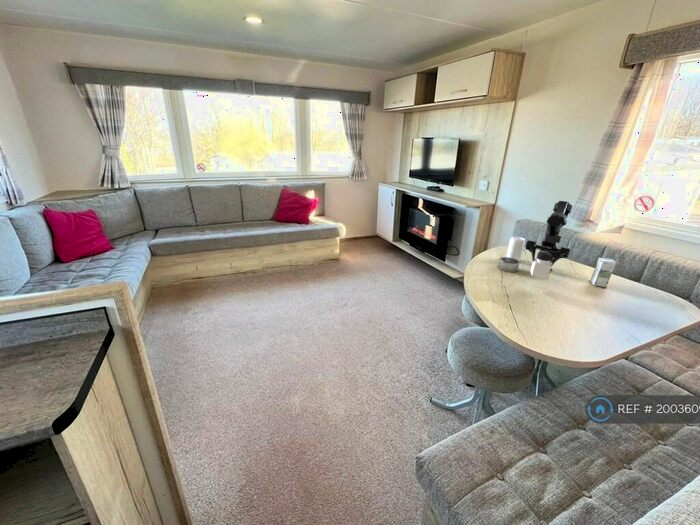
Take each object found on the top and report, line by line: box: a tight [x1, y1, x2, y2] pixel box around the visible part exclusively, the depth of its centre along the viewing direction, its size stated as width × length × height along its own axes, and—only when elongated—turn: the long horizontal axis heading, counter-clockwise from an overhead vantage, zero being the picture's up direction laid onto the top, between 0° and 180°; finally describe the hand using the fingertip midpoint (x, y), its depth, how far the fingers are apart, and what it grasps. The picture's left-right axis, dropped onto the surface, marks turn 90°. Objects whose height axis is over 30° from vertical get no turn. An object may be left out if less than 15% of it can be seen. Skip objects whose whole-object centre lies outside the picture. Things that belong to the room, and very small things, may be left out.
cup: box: [506, 236, 526, 261], centre depth 193 cm, size 8×8×14 cm
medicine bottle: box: [530, 250, 552, 279], centre depth 154 cm, size 7×7×12 cm
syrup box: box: [589, 257, 617, 288], centre depth 163 cm, size 6×6×14 cm
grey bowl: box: [497, 256, 521, 273], centre depth 181 cm, size 10×10×5 cm
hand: (542, 263), depth 153 cm, fingers closed on medicine bottle, 8 cm apart
